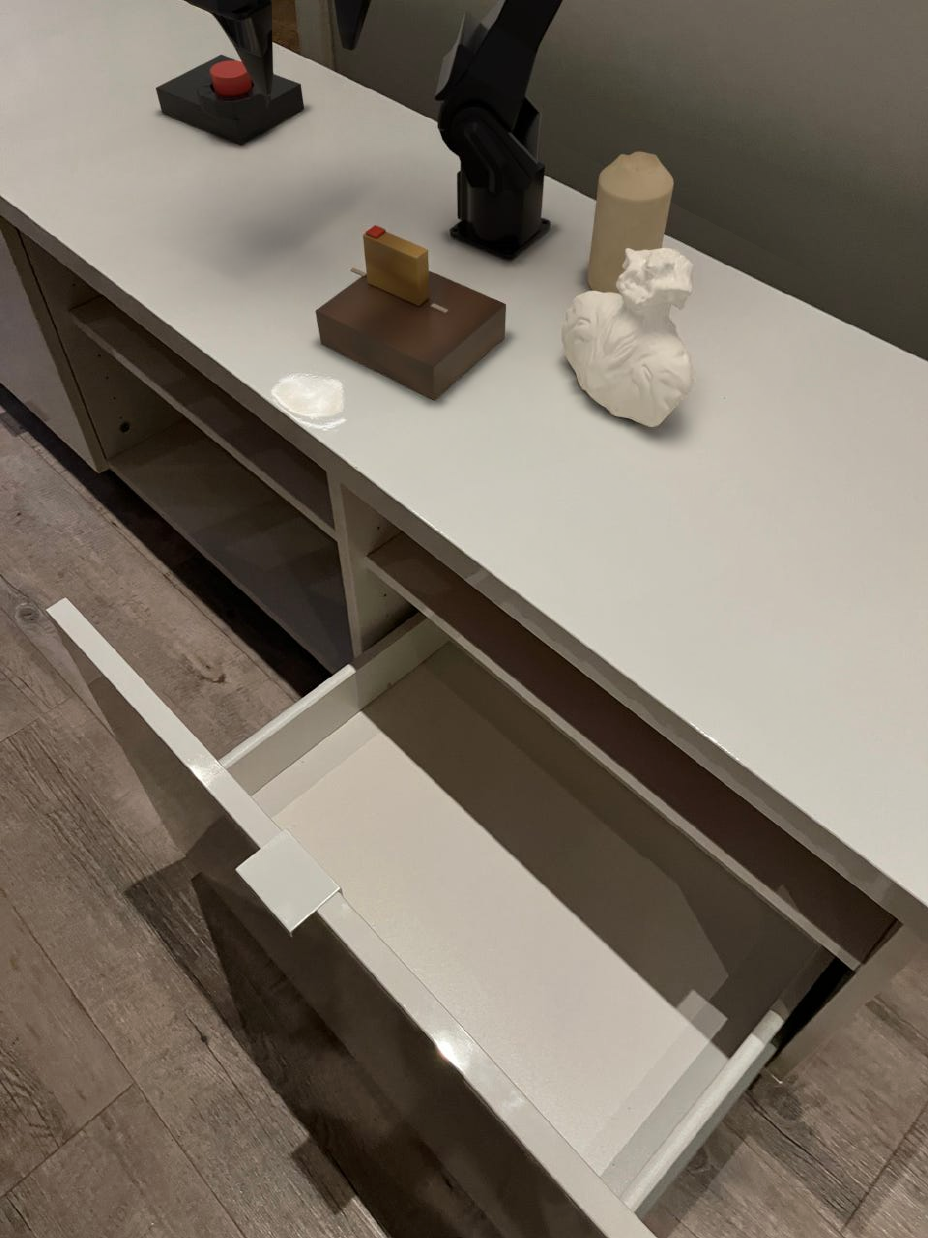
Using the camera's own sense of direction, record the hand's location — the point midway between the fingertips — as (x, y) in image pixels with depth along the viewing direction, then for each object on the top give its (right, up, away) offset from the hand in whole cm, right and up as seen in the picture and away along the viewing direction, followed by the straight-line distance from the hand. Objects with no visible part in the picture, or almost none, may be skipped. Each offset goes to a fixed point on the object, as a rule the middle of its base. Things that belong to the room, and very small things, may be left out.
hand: (308, 70), depth 70 cm
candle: (+25, -14, +5) cm, 29 cm away
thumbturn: (+7, -17, -1) cm, 18 cm away
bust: (+24, -25, -2) cm, 34 cm away
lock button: (-10, +9, +17) cm, 22 cm away
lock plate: (+8, -20, +1) cm, 22 cm away
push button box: (-11, +9, +22) cm, 27 cm away
